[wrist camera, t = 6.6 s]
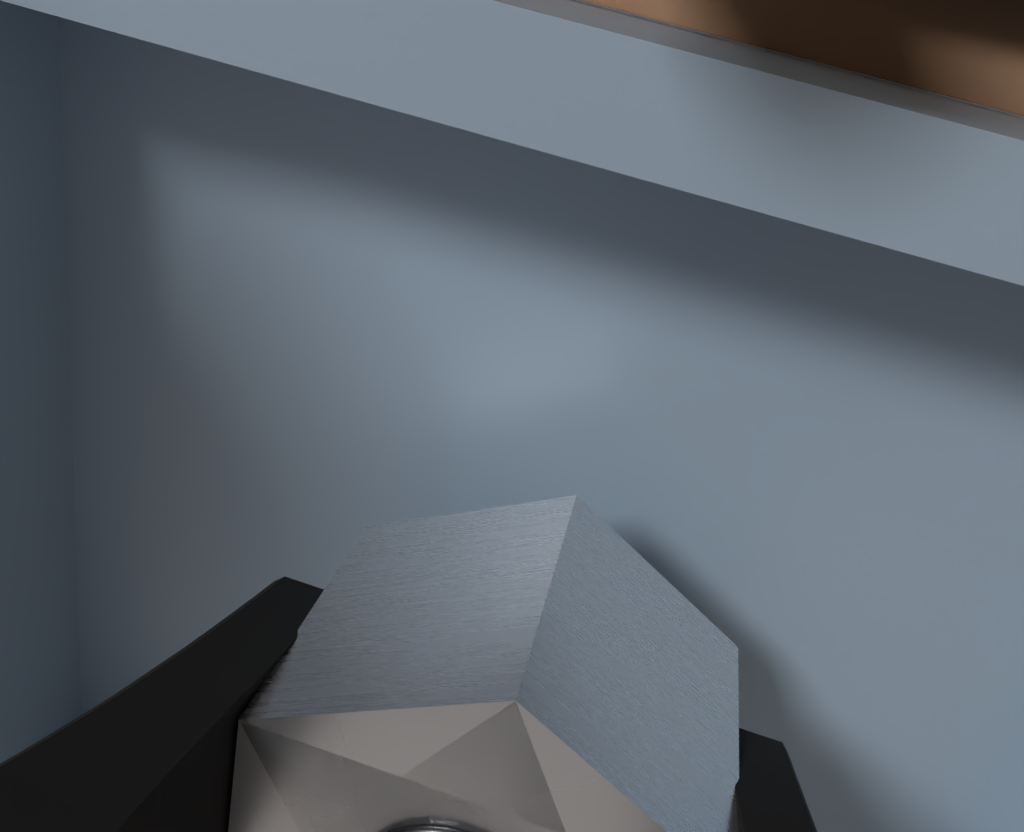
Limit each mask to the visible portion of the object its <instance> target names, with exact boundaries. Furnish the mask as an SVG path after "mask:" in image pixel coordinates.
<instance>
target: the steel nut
mask: <svg viewBox="0 0 1024 832" xmlns="http://www.w3.org/2000/svg"><path fill="white" fill-rule="evenodd" d="M738 780H739V685H738V647H737V646H736V645H735V644H734V643H733V642H732V641H731V640H730V639H729V638H728V637H727V636H726V635H725V634H724V633H723V632H722V631H720V630H719V629H718V628H717V627H716V626H715V625H714V624H713V623H712V622H711V621H710V620H709V619H708V618H707V617H706V616H705V615H703V614H702V613H701V612H700V611H699V610H698V609H697V608H696V607H695V606H694V605H693V604H692V603H691V602H690V601H689V600H688V599H686V598H685V597H684V596H683V595H682V594H681V593H680V592H679V591H678V590H677V589H676V588H675V587H674V586H673V585H672V584H670V583H669V582H668V581H667V580H666V579H665V578H664V577H663V576H662V575H661V574H660V573H659V572H658V571H657V570H656V569H655V568H653V567H652V566H651V565H650V564H649V563H648V562H647V561H646V560H645V559H644V558H643V557H642V556H641V555H640V554H639V553H638V552H636V551H635V550H634V549H633V548H632V547H631V546H630V545H629V544H628V543H627V542H626V541H625V540H624V539H623V538H622V537H621V536H619V535H618V534H617V533H616V532H615V531H614V530H613V529H612V528H611V527H610V526H609V525H608V524H607V523H606V522H605V521H604V520H602V519H601V518H600V517H599V516H598V515H597V514H596V513H595V512H594V511H593V510H592V509H591V508H590V507H589V506H588V505H586V504H585V503H584V502H583V501H582V500H581V499H580V498H579V497H578V496H577V495H575V496H568V497H561V498H554V499H547V500H540V501H534V502H527V503H520V504H513V505H506V506H500V507H493V508H486V509H479V510H472V511H465V512H459V513H452V514H445V515H438V516H431V517H424V518H418V519H411V520H404V521H397V522H390V523H384V524H377V525H370V526H366V527H365V528H364V530H363V531H362V533H361V534H360V536H359V537H358V539H357V540H356V542H355V543H354V545H353V546H352V548H351V549H350V551H349V553H348V554H347V556H346V557H345V559H344V560H343V562H342V563H341V565H340V566H339V568H338V569H337V571H336V572H335V574H334V575H333V577H332V578H331V580H330V581H329V583H328V585H327V586H326V588H325V589H324V591H323V592H322V594H321V595H320V597H319V598H318V600H317V601H316V603H315V604H314V606H313V607H312V609H311V610H310V612H309V614H308V615H307V617H306V618H305V620H304V621H303V623H302V624H301V626H300V627H299V629H298V635H297V639H296V640H295V641H294V642H293V644H292V645H291V646H290V648H289V649H288V650H287V652H286V653H285V654H284V655H283V657H282V658H281V659H280V661H279V662H278V663H277V664H276V666H275V667H274V668H273V670H272V671H271V672H270V674H269V675H268V676H267V678H266V679H265V681H264V682H263V684H262V685H261V687H260V688H259V690H258V691H257V693H256V694H255V696H254V697H253V699H252V700H251V702H250V704H249V705H248V707H247V708H246V710H245V711H244V713H243V714H242V716H241V717H240V719H239V722H238V732H237V743H236V753H235V764H234V775H233V785H232V796H231V806H230V817H229V827H228V832H739V828H738V816H737V804H736V791H735V785H736V783H737V781H738Z"/></svg>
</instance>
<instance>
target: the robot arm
mask: <svg viewBox="0 0 1024 832" xmlns="http://www.w3.org/2000/svg"><path fill="white" fill-rule="evenodd" d="M323 591H324V589H321V588H318V587H315V586H312V585H309V584H306V583H303V582H300V581H297V580H294V579H291V578H288V577H285V576H284V577H282V578H280V579H278V580H276V581H274V582H272V583H271V584H270V585H268V586H267V587H266V588H264V589H263V590H262V591H261V592H259V593H258V594H257V595H255V596H254V597H253V598H251V599H250V600H249V601H247V602H246V603H245V604H243V605H242V606H241V607H239V608H238V609H237V610H235V611H234V612H233V613H231V614H230V615H228V616H227V617H226V618H224V619H223V620H222V621H220V622H219V623H218V624H216V625H215V626H213V627H212V628H211V629H209V630H208V631H206V632H205V633H204V634H202V635H201V636H199V637H198V638H197V639H195V640H194V641H192V642H191V643H190V644H188V645H187V646H185V647H184V648H183V649H181V650H180V651H178V652H177V653H175V654H174V655H172V656H171V657H169V658H168V659H166V660H165V661H163V662H162V663H160V664H159V665H157V666H156V667H154V668H153V669H151V670H150V671H149V672H147V673H146V674H144V675H143V676H141V677H140V678H138V679H137V680H135V681H134V682H132V683H131V684H129V685H128V686H126V687H125V688H123V689H122V690H120V691H119V692H117V693H116V694H114V695H113V696H111V697H109V698H108V699H106V700H105V701H103V702H102V703H100V704H98V705H97V706H95V707H94V708H92V709H90V710H89V711H87V712H85V713H84V714H82V715H80V716H79V717H77V718H75V719H74V720H72V721H71V722H69V723H67V724H66V725H64V726H62V727H61V728H59V729H57V730H56V731H54V732H52V733H51V734H49V735H48V736H46V737H44V738H43V739H41V740H39V741H38V742H36V743H34V744H33V745H31V746H29V747H28V748H26V749H25V750H23V751H21V752H19V753H18V754H16V755H14V756H12V757H11V758H9V759H7V760H5V761H4V762H2V763H0V832H228V827H229V817H230V806H231V796H232V785H233V775H234V764H235V753H236V743H237V732H238V722H239V719H240V717H241V716H242V714H243V713H244V711H245V710H246V708H247V707H248V705H249V704H250V702H251V700H252V699H253V697H254V696H255V694H256V693H257V691H258V690H259V688H260V687H261V685H262V684H263V682H264V681H265V679H266V678H267V676H268V675H269V674H270V672H271V671H272V670H273V668H274V667H275V666H276V664H277V663H278V662H279V661H280V659H281V658H282V657H283V655H284V654H285V653H286V652H287V650H288V649H289V648H290V646H291V645H292V644H293V642H294V641H295V640H296V639H297V635H298V629H299V627H300V626H301V624H302V623H303V621H304V620H305V618H306V617H307V615H308V614H309V612H310V610H311V609H312V607H313V606H314V604H315V603H316V601H317V600H318V598H319V597H320V595H321V594H322V592H323ZM735 791H736V804H737V816H738V828H739V832H817V829H816V827H815V824H814V821H813V819H812V816H811V814H810V811H809V808H808V806H807V803H806V800H805V798H804V795H803V792H802V790H801V787H800V784H799V781H798V779H797V776H796V773H795V771H794V768H793V765H792V762H791V760H790V757H789V754H788V752H787V750H786V748H785V746H784V744H783V743H782V742H780V741H777V740H774V739H771V738H768V737H765V736H762V735H759V734H756V733H753V732H750V731H747V730H744V729H741V728H739V780H738V781H737V783H736V785H735Z"/></svg>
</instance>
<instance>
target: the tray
mask: <svg viewBox="0 0 1024 832" xmlns="http://www.w3.org/2000/svg"><path fill="white" fill-rule="evenodd" d="M575 495H577V496H578V497H579V498H580V499H581V500H582V501H583V502H584V503H585V504H586V505H588V506H589V507H590V508H591V509H592V510H593V511H594V512H595V513H596V514H597V515H598V516H599V517H600V518H601V519H602V520H604V521H605V522H606V523H607V524H608V525H609V526H610V527H611V528H612V529H613V530H614V531H615V532H616V533H617V534H618V535H619V536H621V537H622V538H623V539H624V540H625V541H626V542H627V543H628V544H629V545H630V546H631V547H632V548H633V549H634V550H635V551H636V552H638V553H639V554H640V555H641V556H642V557H643V558H644V559H645V560H646V561H647V562H648V563H649V564H650V565H651V566H652V567H653V568H655V569H656V570H657V571H658V572H659V573H660V574H661V575H662V576H663V577H664V578H665V579H666V580H667V581H668V582H669V583H670V584H672V585H673V586H674V587H675V588H676V589H677V590H678V591H679V592H680V593H681V594H682V595H683V596H684V597H685V598H686V599H688V600H689V601H690V602H691V603H692V604H693V605H694V606H695V607H696V608H697V609H698V610H699V611H700V612H701V613H702V614H703V615H705V616H706V617H707V618H708V619H709V620H710V621H711V622H712V623H713V624H714V625H715V626H716V627H717V628H718V629H719V630H720V631H722V632H723V633H724V634H725V635H726V636H727V637H728V638H729V639H730V640H731V641H732V642H733V643H734V644H735V645H736V646H737V647H738V685H739V728H741V729H744V730H747V731H750V732H753V733H756V734H759V735H762V736H765V737H768V738H771V739H774V740H777V741H780V742H782V743H783V744H784V746H785V748H786V750H787V752H788V754H789V757H790V760H791V762H792V765H793V768H794V771H795V773H796V776H797V779H798V781H799V784H800V787H801V790H802V792H803V795H804V798H805V800H806V803H807V806H808V808H809V811H810V814H811V816H812V819H813V821H814V824H815V827H816V829H817V832H1024V116H1022V115H1019V114H1015V113H1011V112H1007V111H1003V110H1000V109H996V108H992V107H988V106H984V105H980V104H977V103H973V102H969V101H965V100H961V99H957V98H954V97H950V96H946V95H942V94H938V93H935V92H931V91H927V90H923V89H919V88H915V87H912V86H908V85H904V84H900V83H896V82H893V81H889V80H885V79H881V78H877V77H873V76H870V75H866V74H862V73H858V72H854V71H851V70H847V69H843V68H839V67H835V66H831V65H828V64H824V63H820V62H816V61H812V60H809V59H805V58H801V57H797V56H793V55H789V54H786V53H782V52H778V51H774V50H770V49H767V48H763V47H759V46H755V45H751V44H747V43H744V42H740V41H736V40H732V39H728V38H725V37H721V36H717V35H713V34H709V33H705V32H702V31H698V30H694V29H690V28H686V27H683V26H679V25H675V24H671V23H667V22H663V21H660V20H656V19H652V18H648V17H644V16H641V15H637V14H633V13H629V12H625V11H621V10H618V9H614V8H610V7H606V6H602V5H599V4H595V3H591V2H587V1H583V0H0V763H2V762H4V761H5V760H7V759H9V758H11V757H12V756H14V755H16V754H18V753H19V752H21V751H23V750H25V749H26V748H28V747H29V746H31V745H33V744H34V743H36V742H38V741H39V740H41V739H43V738H44V737H46V736H48V735H49V734H51V733H52V732H54V731H56V730H57V729H59V728H61V727H62V726H64V725H66V724H67V723H69V722H71V721H72V720H74V719H75V718H77V717H79V716H80V715H82V714H84V713H85V712H87V711H89V710H90V709H92V708H94V707H95V706H97V705H98V704H100V703H102V702H103V701H105V700H106V699H108V698H109V697H111V696H113V695H114V694H116V693H117V692H119V691H120V690H122V689H123V688H125V687H126V686H128V685H129V684H131V683H132V682H134V681H135V680H137V679H138V678H140V677H141V676H143V675H144V674H146V673H147V672H149V671H150V670H151V669H153V668H154V667H156V666H157V665H159V664H160V663H162V662H163V661H165V660H166V659H168V658H169V657H171V656H172V655H174V654H175V653H177V652H178V651H180V650H181V649H183V648H184V647H185V646H187V645H188V644H190V643H191V642H192V641H194V640H195V639H197V638H198V637H199V636H201V635H202V634H204V633H205V632H206V631H208V630H209V629H211V628H212V627H213V626H215V625H216V624H218V623H219V622H220V621H222V620H223V619H224V618H226V617H227V616H228V615H230V614H231V613H233V612H234V611H235V610H237V609H238V608H239V607H241V606H242V605H243V604H245V603H246V602H247V601H249V600H250V599H251V598H253V597H254V596H255V595H257V594H258V593H259V592H261V591H262V590H263V589H264V588H266V587H267V586H268V585H270V584H271V583H272V582H274V581H276V580H278V579H280V578H282V577H284V576H285V577H288V578H291V579H294V580H297V581H300V582H303V583H306V584H309V585H312V586H315V587H318V588H321V589H325V588H326V586H327V585H328V583H329V581H330V580H331V578H332V577H333V575H334V574H335V572H336V571H337V569H338V568H339V566H340V565H341V563H342V562H343V560H344V559H345V557H346V556H347V554H348V553H349V551H350V549H351V548H352V546H353V545H354V543H355V542H356V540H357V539H358V537H359V536H360V534H361V533H362V531H363V530H364V528H365V527H366V526H370V525H377V524H384V523H390V522H397V521H404V520H411V519H418V518H424V517H431V516H438V515H445V514H452V513H459V512H465V511H472V510H479V509H486V508H493V507H500V506H506V505H513V504H520V503H527V502H534V501H540V500H547V499H554V498H561V497H568V496H575Z"/></svg>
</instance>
